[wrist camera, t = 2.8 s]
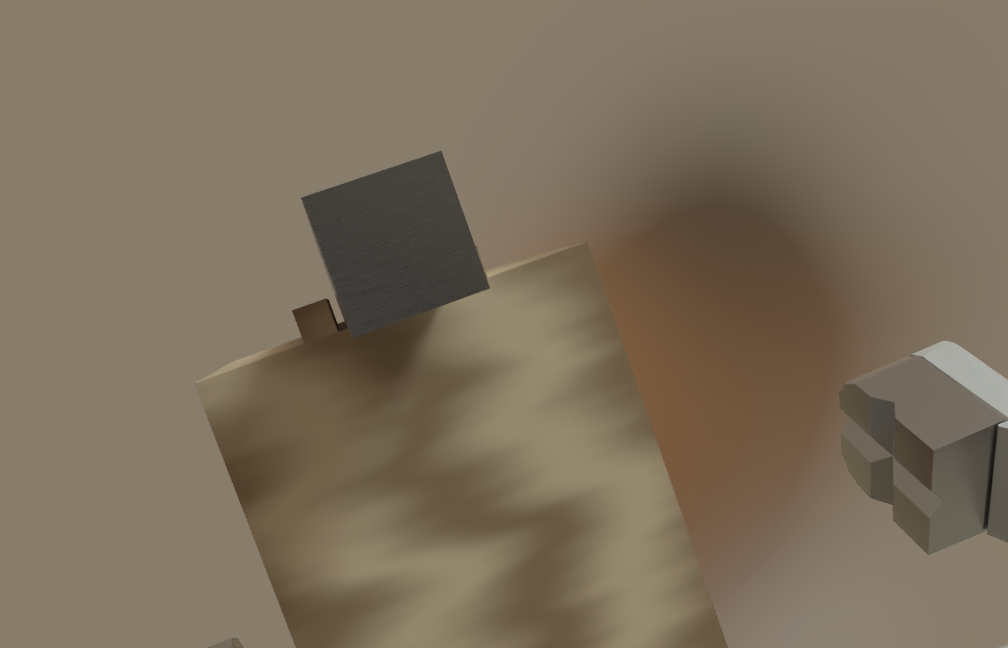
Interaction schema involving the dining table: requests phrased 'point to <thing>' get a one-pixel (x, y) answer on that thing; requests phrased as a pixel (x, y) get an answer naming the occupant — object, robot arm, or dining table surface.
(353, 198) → the steel block
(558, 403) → the maple stand
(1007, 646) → the dining table surface
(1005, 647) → the dining table surface
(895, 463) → the robot arm
